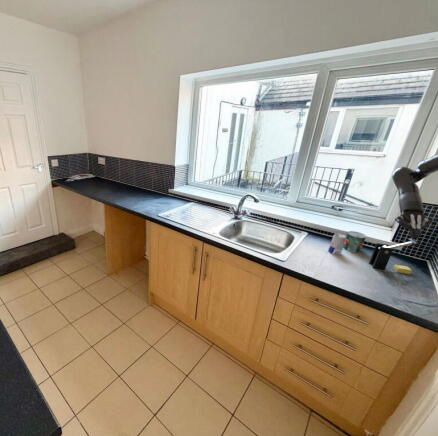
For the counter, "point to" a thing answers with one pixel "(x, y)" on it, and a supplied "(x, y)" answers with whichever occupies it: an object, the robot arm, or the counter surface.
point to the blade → (404, 244)
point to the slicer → (380, 257)
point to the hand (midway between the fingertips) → (416, 237)
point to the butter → (402, 269)
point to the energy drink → (337, 244)
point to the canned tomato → (354, 241)
